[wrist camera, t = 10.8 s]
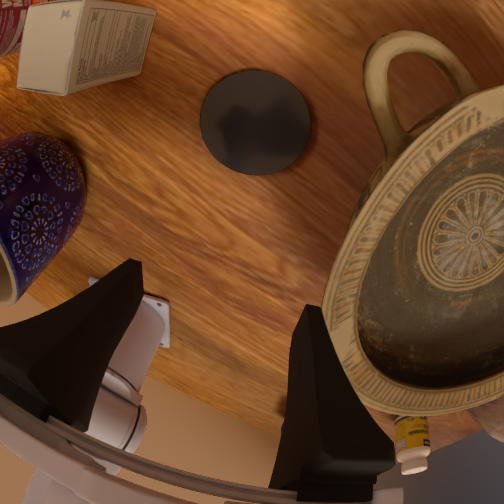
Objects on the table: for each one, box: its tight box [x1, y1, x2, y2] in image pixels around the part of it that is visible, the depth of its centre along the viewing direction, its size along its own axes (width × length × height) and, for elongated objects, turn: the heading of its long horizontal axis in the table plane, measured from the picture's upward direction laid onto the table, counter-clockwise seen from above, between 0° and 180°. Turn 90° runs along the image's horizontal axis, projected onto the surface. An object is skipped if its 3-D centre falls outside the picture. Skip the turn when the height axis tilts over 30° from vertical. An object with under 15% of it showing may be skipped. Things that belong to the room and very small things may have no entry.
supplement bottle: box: [395, 416, 430, 474], centre depth 34 cm, size 5×5×10 cm
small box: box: [17, 0, 157, 96], centre depth 12 cm, size 5×4×8 cm
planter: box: [0, 132, 86, 306], centre depth 18 cm, size 11×11×11 cm
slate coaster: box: [200, 70, 311, 175], centre depth 18 cm, size 7×7×1 cm
